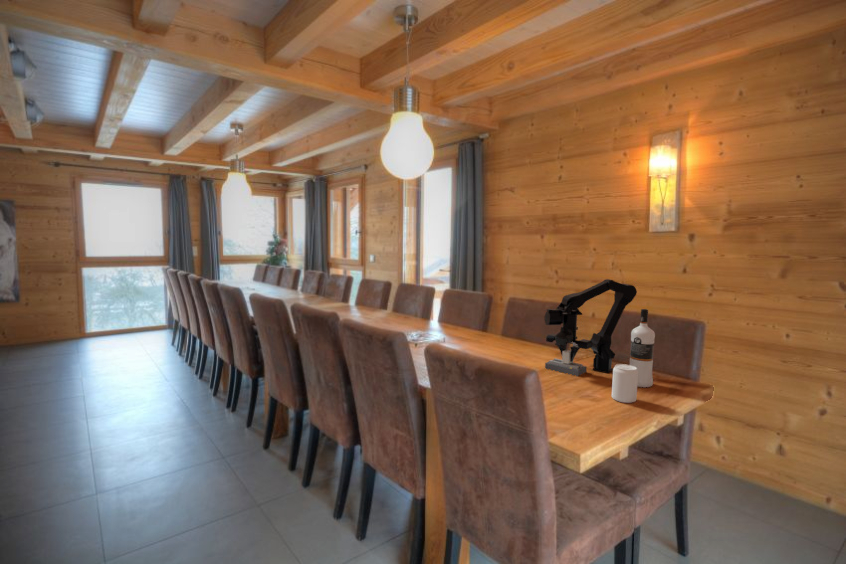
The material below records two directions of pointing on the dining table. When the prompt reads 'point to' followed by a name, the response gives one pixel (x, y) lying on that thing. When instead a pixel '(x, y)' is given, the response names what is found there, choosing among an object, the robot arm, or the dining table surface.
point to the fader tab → (566, 356)
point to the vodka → (642, 351)
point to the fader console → (566, 367)
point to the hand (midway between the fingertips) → (567, 360)
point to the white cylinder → (624, 383)
